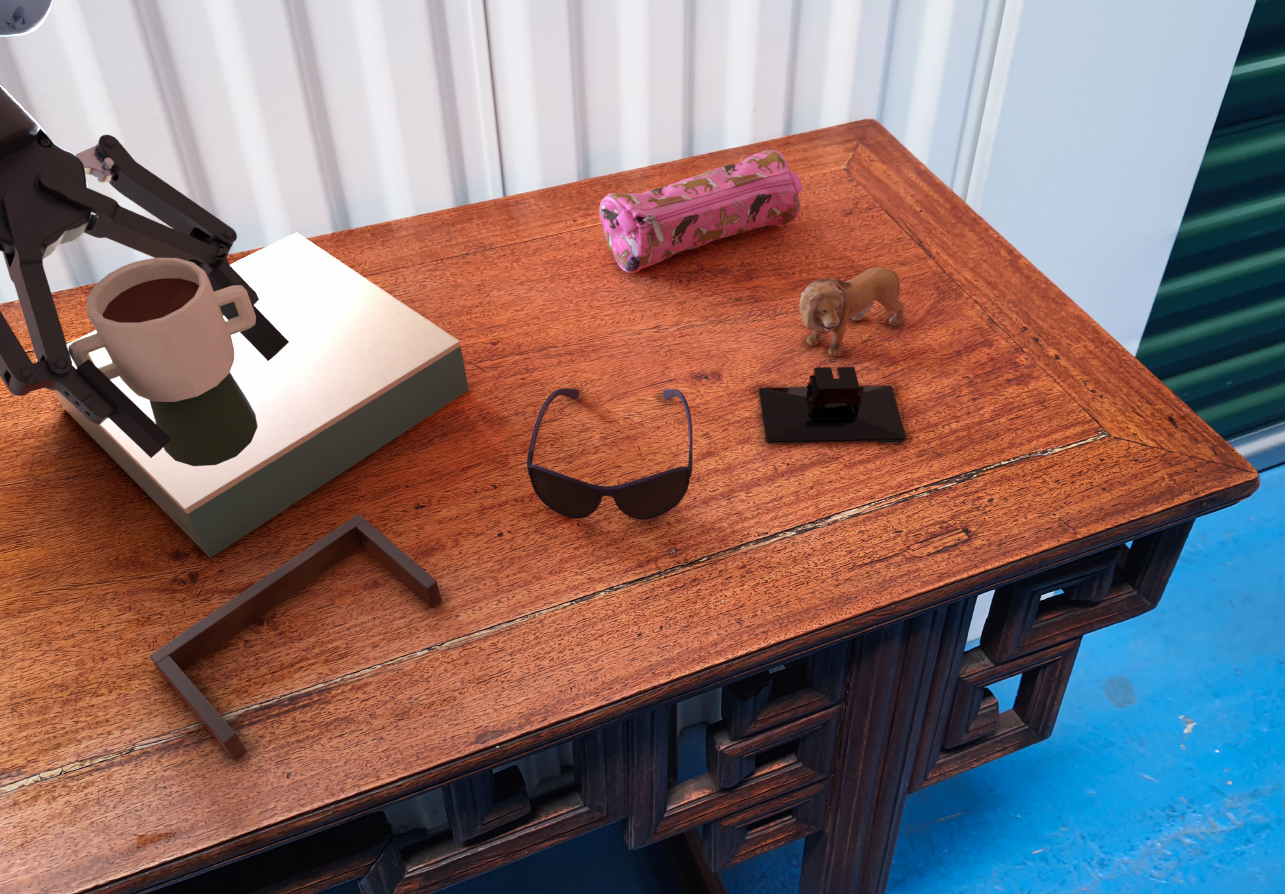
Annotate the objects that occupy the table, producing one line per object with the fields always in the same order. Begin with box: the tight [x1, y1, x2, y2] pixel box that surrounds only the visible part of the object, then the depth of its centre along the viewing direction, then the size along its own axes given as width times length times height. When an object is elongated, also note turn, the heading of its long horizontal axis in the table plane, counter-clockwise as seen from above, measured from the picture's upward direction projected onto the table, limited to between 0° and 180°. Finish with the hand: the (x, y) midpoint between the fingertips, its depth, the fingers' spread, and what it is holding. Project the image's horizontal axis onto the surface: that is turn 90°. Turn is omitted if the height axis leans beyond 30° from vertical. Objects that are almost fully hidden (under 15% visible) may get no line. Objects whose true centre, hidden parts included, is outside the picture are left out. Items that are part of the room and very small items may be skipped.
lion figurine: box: [798, 266, 904, 357], centre depth 95 cm, size 15×5×9 cm, turn 133°
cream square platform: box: [35, 232, 470, 559], centre depth 91 cm, size 27×26×6 cm
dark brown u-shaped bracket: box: [148, 513, 443, 762], centre depth 73 cm, size 18×10×2 cm, turn 137°
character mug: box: [68, 257, 258, 466], centre depth 65 cm, size 11×7×13 cm, turn 124°
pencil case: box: [598, 149, 804, 274], centre depth 107 cm, size 21×9×9 cm, turn 117°
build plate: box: [758, 366, 907, 445], centre depth 89 cm, size 12×7×5 cm, turn 91°
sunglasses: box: [526, 387, 694, 521], centre depth 85 cm, size 14×16×5 cm
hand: (222, 397), depth 65 cm, fingers closed on character mug, 10 cm apart
